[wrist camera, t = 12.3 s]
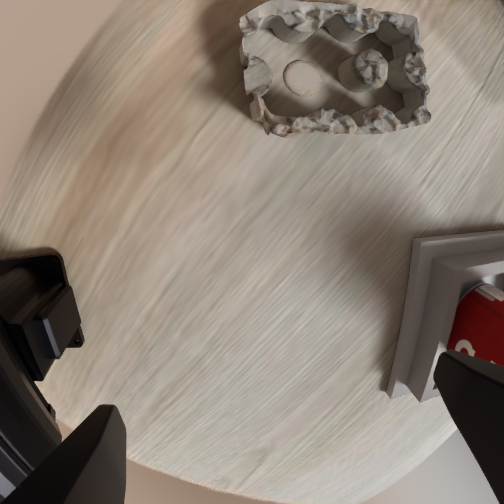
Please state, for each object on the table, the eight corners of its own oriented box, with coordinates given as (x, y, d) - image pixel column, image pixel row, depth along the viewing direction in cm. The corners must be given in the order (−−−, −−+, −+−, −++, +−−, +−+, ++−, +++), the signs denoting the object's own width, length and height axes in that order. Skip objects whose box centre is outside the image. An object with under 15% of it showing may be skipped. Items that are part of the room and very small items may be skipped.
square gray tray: (385, 392, 24) (403, 417, 21) (412, 238, 20) (444, 253, 17) (487, 353, 26) (506, 370, 23) (517, 228, 22) (544, 238, 19)
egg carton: (246, 143, 17) (258, 141, 13) (231, 22, 15) (238, -8, 11) (407, 134, 18) (447, 134, 14) (391, 30, 16) (426, 12, 12)
